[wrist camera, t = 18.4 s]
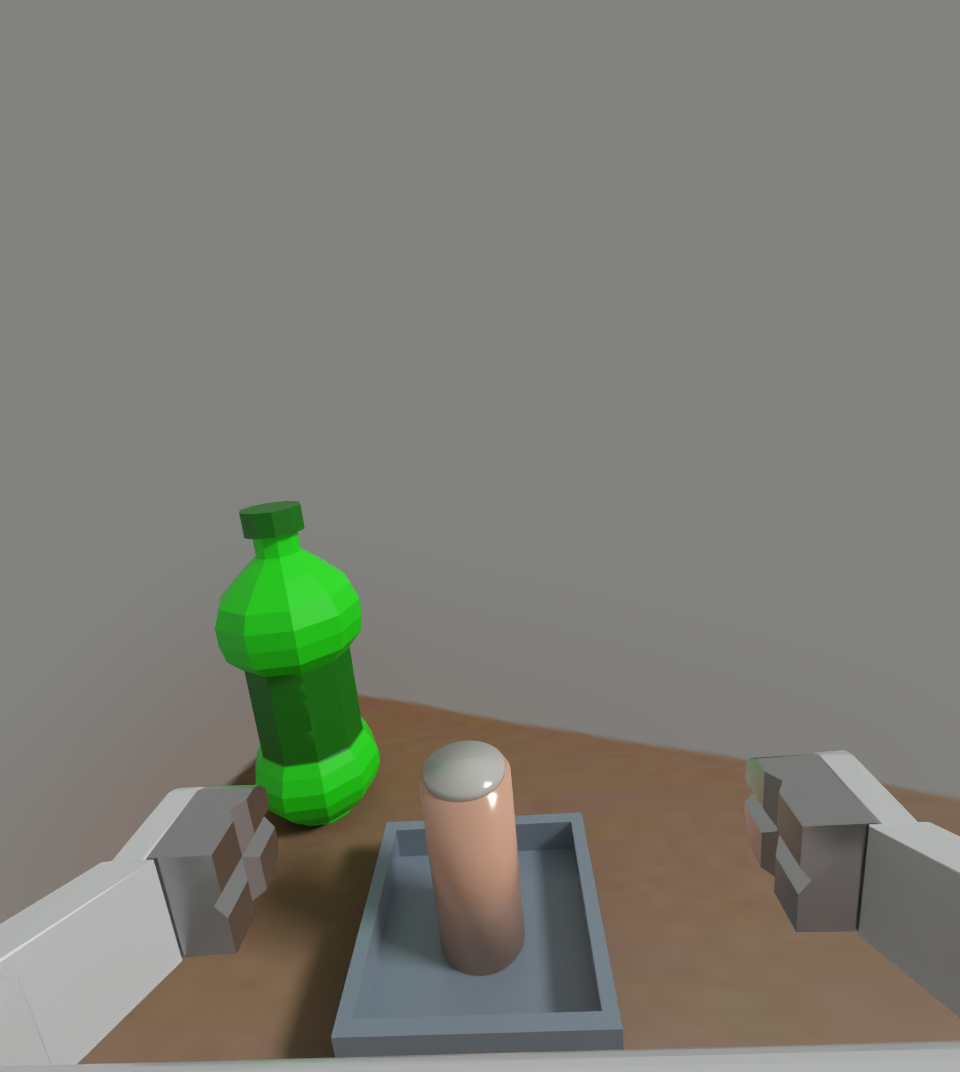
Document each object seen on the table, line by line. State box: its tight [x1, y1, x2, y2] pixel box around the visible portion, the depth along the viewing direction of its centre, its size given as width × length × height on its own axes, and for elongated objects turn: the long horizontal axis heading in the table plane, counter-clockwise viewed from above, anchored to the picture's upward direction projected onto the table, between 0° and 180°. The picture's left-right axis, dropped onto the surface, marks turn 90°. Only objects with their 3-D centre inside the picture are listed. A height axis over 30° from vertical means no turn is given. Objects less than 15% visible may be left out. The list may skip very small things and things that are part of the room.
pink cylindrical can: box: [418, 741, 525, 976], centre depth 32 cm, size 5×5×12 cm
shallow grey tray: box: [331, 812, 624, 1057], centre depth 33 cm, size 14×14×3 cm
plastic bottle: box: [215, 501, 380, 826], centre depth 44 cm, size 10×10×25 cm
